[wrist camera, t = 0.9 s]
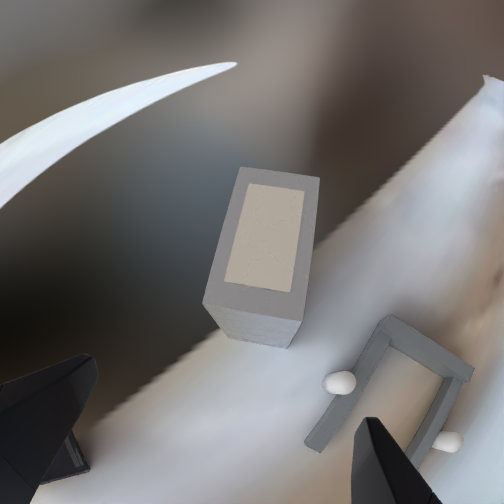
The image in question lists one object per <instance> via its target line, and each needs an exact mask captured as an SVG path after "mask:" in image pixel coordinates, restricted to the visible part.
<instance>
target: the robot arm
mask: <svg viewBox="0 0 504 504" xmlns="http://www.w3.org/2000/svg"><path fill="white" fill-rule="evenodd" d="M98 376H99V374H98V370H97V366H96V362H95V359H94V358H93V357H92V356H90V355H87V354H80V355H78V356H75V357H73V358H70V359H67V360H65V361H62V362H60V363H58V364H55V365H52V366H49V367H47V368H44V369H42V370H39V371H37V372H34V373H31V374H28V375H26V376H23V377H20V378H18V379H15V380H12V381H10V382H7V383H4V385H3V384H1V385H0V504H30V502H31V500H32V498H33V496H34V494H35V492H36V490H37V488H38V487H39V485H40V483H41V481H42V479H43V477H44V476H45V474H46V472H47V470H48V468H49V467H50V465H51V463H52V461H53V460H54V458H55V456H56V454H57V453H58V451H59V449H60V448H61V446H62V444H63V443H64V441H65V439H66V438H67V436H68V434H69V433H70V431H71V429H72V428H73V426H74V424H75V423H76V421H77V419H78V418H79V416H80V414H81V413H82V411H83V409H84V407H85V405H86V403H87V401H88V399H89V396H90V394H91V392H92V390H93V388H94V386H95V384H96V382H97V380H98ZM351 504H442V502H441V501H440V500H439V499H438V497H437V496H436V495H435V493H434V492H432V489H431V488H430V487H429V485H428V484H427V483H426V481H425V480H424V479H423V477H422V476H421V475H420V473H419V472H418V471H417V469H416V468H415V467H414V465H413V464H412V463H411V461H410V460H409V459H408V457H407V456H406V455H405V453H404V452H403V451H402V449H401V448H400V447H399V445H398V444H397V443H396V441H395V440H394V439H393V437H392V436H391V435H390V433H389V432H388V431H387V429H386V428H385V427H384V425H383V424H382V423H381V421H380V420H379V419H378V418H377V417H365V418H364V419H363V421H362V422H361V424H360V426H359V427H358V429H357V431H356V433H355V437H354V449H353V461H352V472H351Z"/></svg>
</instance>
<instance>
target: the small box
mask: <svg viewBox="0 0 504 504" xmlns="http://www.w3.org/2000/svg"><path fill="white" fill-rule="evenodd" d="M86 472H89V468H88V465H87V464H86V461H85V460H84V458H83V455H82V453H81V451H80V449H79V447H78V444H77V442H76V439H75V437H74V434H73V432H72V429H71V431H70V433H69V434H68V436H67V438H66V439H65V441H64V443H63V444H62V446H61V448H60V449H59V451H58V453H57V454H56V456H55V458H54V460H53V461H52V463H51V465H50V467H49V468H48V470H47V472H46V474H45V476H44V477H43V479H42V481H41V483H40V485H42V484H46V483H50V482H52V481H56V480H60V479H64V478H67V477H71V476H75V475H79V474H82V473H86Z"/></svg>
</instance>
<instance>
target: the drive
mask: <svg viewBox="0 0 504 504" xmlns="http://www.w3.org/2000/svg"><path fill="white" fill-rule="evenodd" d="M319 181H320V178H318V177H312V176H306V175H300V174H293V173H286V172H279V171H271V170H264V169H256V168H248V167H240V170H239V173H238V176H237V180H236V183H235V186H234V190H233V193H232V197H231V200H230V203H229V207H228V211H227V214H226V217H225V221H224V225H223V228H222V232H221V235H220V239H219V242H218V246H217V250H216V253H215V257H214V261H213V264H212V268H211V272H210V276H209V279H208V283H207V287H206V291H205V295H204V299H203V302H202V303H203V305H204V306H205V308H206V309H207V310H208V312H209V313H210V315H211V316H212V317H213V318H214V320H215V321H216V322H217V324H218V325H219V326H220V328H221V329H222V330H223V332H224V333H225V334H226V336H227V337H228V338H231V339H236V340H241V341H247V342H252V343H257V344H263V345H268V346H274V347H280V348H286V349H287V347H288V345H289V344H290V342H291V340H292V339H293V337H294V335H295V334H296V332H297V330H298V329H299V327H300V325H301V323H302V322H303V315H304V309H305V302H306V295H307V288H308V281H309V274H310V266H311V258H312V250H313V241H314V233H315V223H316V213H317V204H318V193H319Z"/></svg>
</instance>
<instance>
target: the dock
mask: <svg viewBox="0 0 504 504" xmlns="http://www.w3.org/2000/svg"><path fill="white" fill-rule="evenodd" d="M388 344H390V345H391V346H393V347H394V348H396V349H398V350H399V351H401V352H403V353H404V354H406V355H407V356H409V357H411V358H412V359H414V360H416V361H417V362H419V363H420V364H422V365H424V366H425V367H427V368H429V369H430V370H432V371H433V372H435V373H437V374H438V375H440V376H442V377H443V378H444V381H443V383H442V385H441V387H440V389H439V391H438V394H437V396H436V398H435V400H434V402H433V404H432V406H431V408H430V410H429V412H428V413H427V415H426V417H425V419H424V421H423V423H422V424H421V426H420V428H419V430H418V432H417V433H416V435H415V437H414V438H413V440H412V442H411V443H410V445H409V447H408V448H407V450H406V451H405V455H406V456H407V457H408V459H409V460H410V461H411V463H412V464H413V465H414V467H415V468H416V469H418V467H419V466H420V464H421V462H422V461H423V459H424V458H425V456H426V454H427V453H428V451H429V449H430V448H435V449H439V450H443V451H447V452H451V453H454V452H457V451H458V450H459V449H460V448H461V447H462V445H463V441H464V438H463V435H462V434H461V433H455V432H448V431H441V428H442V426H443V424H444V422H445V420H446V418H447V416H448V414H449V412H450V410H451V408H452V406H453V404H454V402H455V399H456V397H457V395H458V393H459V390H460V388H461V386H462V383H463V382H470V379H471V377H472V374H473V372H474V369H475V368H474V367H472V366H470V365H469V364H467V363H466V362H464V361H463V360H461V359H460V358H458V357H457V356H455V355H454V354H452V353H451V352H449V351H448V350H446V349H445V348H443V347H442V346H440V345H438V344H437V343H435V342H434V341H432V340H431V339H429V338H428V337H426V336H425V335H423V334H421V333H420V332H418V331H417V330H415V329H414V328H412V327H411V326H409V325H407V324H406V323H404V322H403V321H401V320H400V319H398V318H396V317H395V316H393V315H392V314H390V315H389V316H387V317H386V318H384V319H383V320H381V321H379V323H378V325H377V327H376V329H375V331H374V333H373V335H372V336H371V338H370V340H369V342H368V344H367V346H366V347H365V349H364V351H363V353H362V354H361V356H360V358H359V360H358V361H357V363H356V365H355V366H354V368H353V370H352V371H351V372H349V371H341V372H336V373H330V374H328V375H326V376H325V377H324V379H323V382H322V386H323V389H324V390H325V391H326V392H328V393H332V394H337V395H336V397H335V398H334V400H333V401H332V403H331V404H330V406H329V407H328V409H327V410H326V412H325V413H324V415H323V416H322V418H321V419H320V420H319V422H318V423H317V425H316V426H315V427H314V429H313V430H312V432H311V433H310V434H309V436H308V437H307V438H306V440H305V441H304V443H305V445H306V446H308V447H309V448H311V449H313V450H315V451H317V452H319V453H321V452H322V450H323V449H324V448H325V446H326V445H327V444H328V442H329V441H330V439H331V438H332V437H333V435H334V434H335V432H336V431H337V430H338V428H339V427H340V425H341V424H342V422H343V421H344V419H345V418H346V416H347V415H348V413H349V412H350V410H351V409H352V407H353V405H354V404H355V402H356V401H357V399H358V398H359V396H360V394H361V393H362V391H363V389H364V388H365V386H366V384H367V383H368V381H369V379H370V377H371V376H372V374H373V372H374V370H375V369H376V367H377V365H378V363H379V361H380V360H381V358H382V356H383V354H384V352H385V350H386V348H387V346H388Z"/></svg>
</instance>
